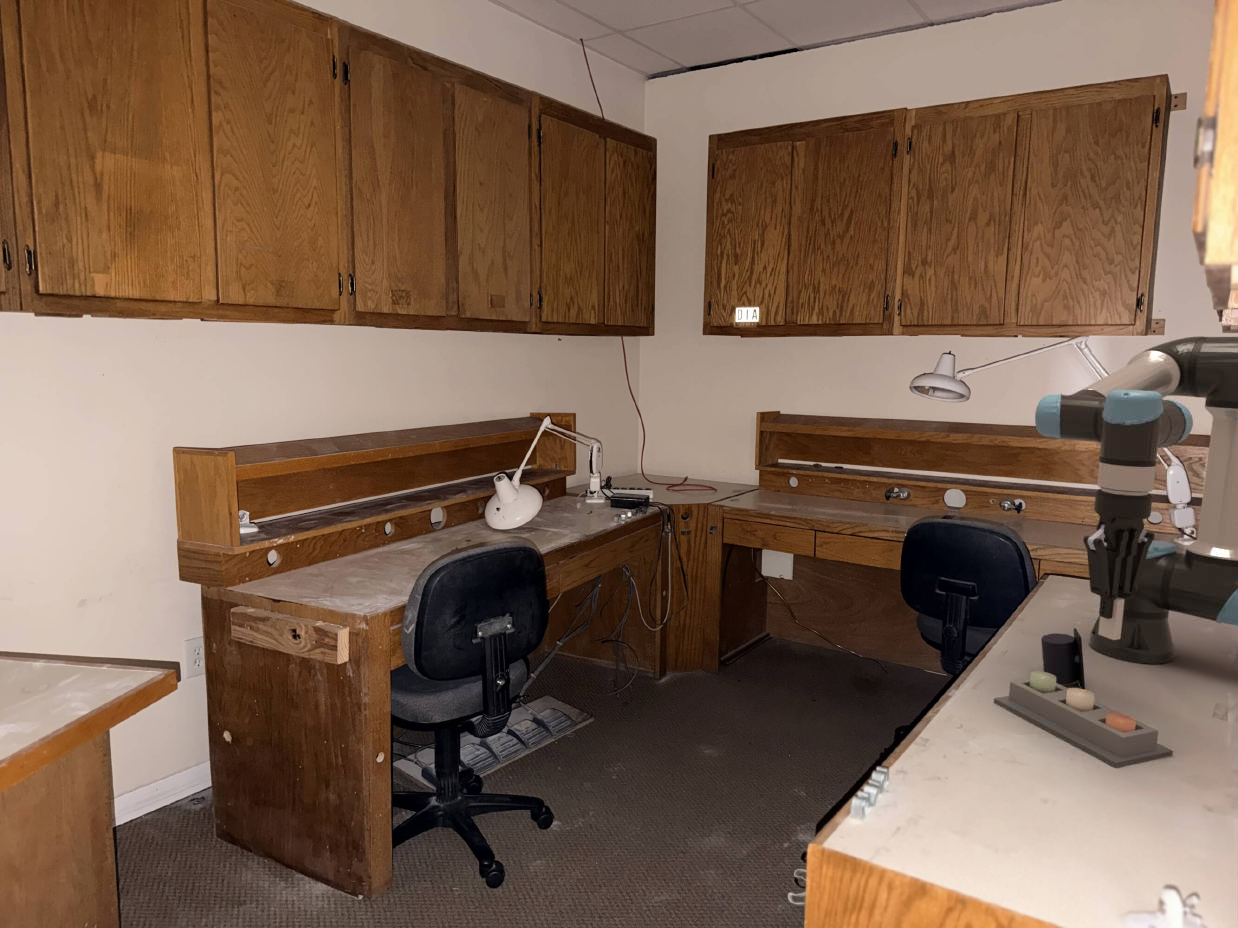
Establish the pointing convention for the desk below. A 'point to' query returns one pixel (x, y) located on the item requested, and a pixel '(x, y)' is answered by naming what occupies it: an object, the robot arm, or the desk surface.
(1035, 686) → the sage button
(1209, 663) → the desk surface
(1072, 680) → the speaker
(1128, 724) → the terracotta button
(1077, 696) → the cream button
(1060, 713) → the control panel
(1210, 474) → the robot arm
